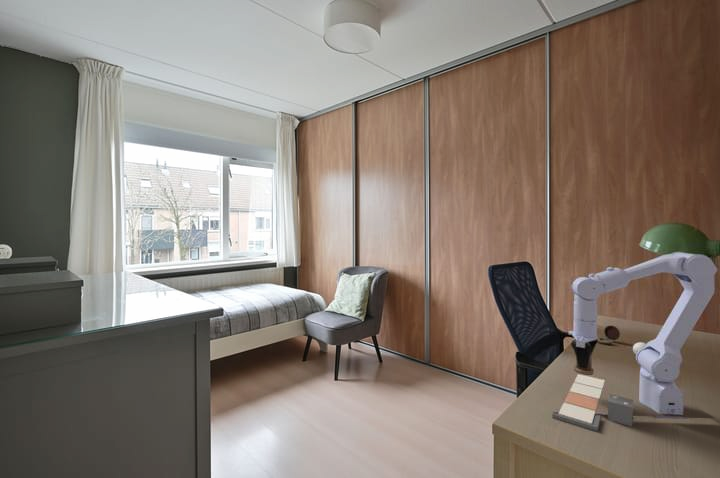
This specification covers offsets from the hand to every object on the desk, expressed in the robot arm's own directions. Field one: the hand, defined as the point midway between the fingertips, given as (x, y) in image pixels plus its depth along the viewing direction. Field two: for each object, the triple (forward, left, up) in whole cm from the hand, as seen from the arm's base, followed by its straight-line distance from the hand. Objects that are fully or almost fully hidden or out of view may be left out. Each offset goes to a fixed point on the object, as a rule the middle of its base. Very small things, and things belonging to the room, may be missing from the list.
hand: (584, 365), depth 102 cm
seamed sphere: (+37, -39, -10) cm, 55 cm away
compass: (+51, -37, -11) cm, 64 cm away
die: (-10, -4, -10) cm, 15 cm away
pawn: (0, 0, -2) cm, 2 cm away
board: (0, 0, -10) cm, 10 cm away
